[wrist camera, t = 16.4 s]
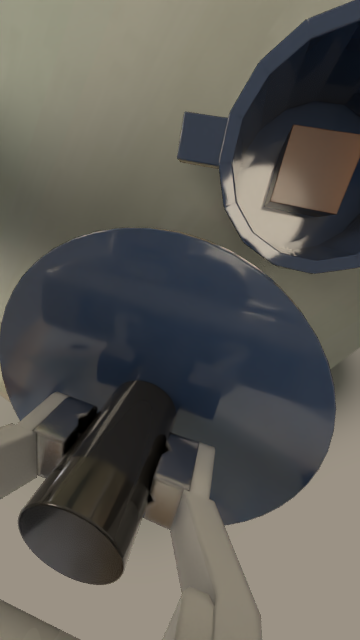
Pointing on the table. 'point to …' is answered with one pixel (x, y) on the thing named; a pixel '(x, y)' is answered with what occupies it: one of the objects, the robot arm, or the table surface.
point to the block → (314, 171)
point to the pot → (270, 134)
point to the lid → (160, 385)
